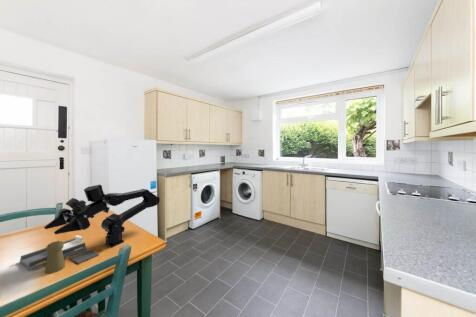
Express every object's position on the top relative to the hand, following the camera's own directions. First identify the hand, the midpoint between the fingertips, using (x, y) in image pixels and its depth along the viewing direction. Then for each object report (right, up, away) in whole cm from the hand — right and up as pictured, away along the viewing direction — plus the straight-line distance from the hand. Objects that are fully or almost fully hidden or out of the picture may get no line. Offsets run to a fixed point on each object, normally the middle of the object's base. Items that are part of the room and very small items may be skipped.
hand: (49, 230), depth 76 cm
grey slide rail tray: (-8, -16, +11) cm, 21 cm away
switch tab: (-6, -14, +15) cm, 21 cm away
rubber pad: (+6, -16, +10) cm, 20 cm away
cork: (+1, -17, +2) cm, 17 cm away
